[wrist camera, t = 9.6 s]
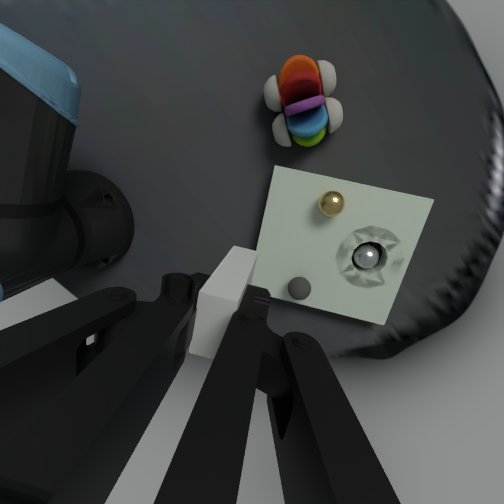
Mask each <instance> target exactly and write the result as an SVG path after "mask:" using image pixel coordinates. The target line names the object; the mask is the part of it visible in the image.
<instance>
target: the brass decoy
mask: <svg viewBox="0 0 504 504" xmlns="http://www.w3.org/2000/svg"><path fill="white" fill-rule="evenodd" d="M318 206H319V209H320V211H321V212H322V213H323V214H324V215H326V216H330V217H333V216H337V215H339V214H340V213H341V212H342V211H343V209H344V207H345V199H344V196H343V195H342V194H341V193H340V192H338V191H334V190H331V191H327V192H325V193H324V194H322V196H321V197H320V199H319V202H318Z"/></svg>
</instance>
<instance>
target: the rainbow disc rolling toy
mask: <svg viewBox="0 0 504 504" xmlns="http://www.w3.org/2000/svg"><path fill="white" fill-rule="evenodd" d="M335 86H336V73H335V69H334V66H333V65H332V64H331V63H329V62H327V61H324V60H319V61H317V63H316V64H315V62H314V61H313V60H312V59H311V58H309V57H307V56H304V55H295V56H293V57H291V58H290V59H288V60H287V61H286V62H285V64H284V65H283V66H282V68H281V70H280V73H279V78H278V81H277V78H276V75H273V76H272V77H270V78H269V79H268V80H267V82H266V83H265V85H264V89H263V91H264V97H265V101H266V105H267V107H268V108H269V109H271V110H273V111H275V112H282V111H283V108H282V106H284V107H285V109H284V112H285V114H286V115H285V114H284V113H281V114H279V115H278V116H277V117H276V118H275V120H274V122H273V124H272V130H273V134H274V138H275V141H276V142H277V143H278V144H280V145H281V146H285V147H290V146H291V140H290V134H289V131H290V132H291V135H292V139H293V140H294V141H295V142H296V143H298V144H299V145H302V146H306V147H309V146H313V145H316V144H317V143H319V142H320V141H321V140H322V138H323V137H324V135H325V132H326V130H327V128H328V131H329V133H332V132H334V131H336V130H337V129H338V128H339V126H340V125H341V123H342V121H343V111H342V106H341V104H340V103H339V102H338V101H337V100H336V99H334V98H328V96H329V95H330V94H331V93H332V92H333V90H334V89H335ZM288 129H289V130H288Z"/></svg>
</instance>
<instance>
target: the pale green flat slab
mask: <svg viewBox="0 0 504 504" xmlns="http://www.w3.org/2000/svg"><path fill="white" fill-rule="evenodd" d="M331 190H334V191H338V192H340V193H341V194H342V195H343V196H344V199H345V207H344V209H343V211H342V212H341V213H340V214H339V215H337V216H333V217H330V216H326V215H324V214H323V213H322V212H321V211H320V209H319V206H318V202H319V199H320V197H321V196H322V194H324V193H325V192H327V191H331ZM433 202H434V200H433V199H429V198H424V197H419V196H415V195H410V194H405V193H401V192H396V191H392V190H387V189H382V188H378V187H373V186H368V185H364V184H359V183H355V182H350V181H345V180H341V179H336V178H331V177H327V176H322V175H318V174H313V173H308V172H304V171H299V170H294V169H290V168H285V167H281V166H276V165H275V167H274V172H273V176H272V181H271V185H270V190H269V194H268V199H267V203H266V208H265V212H264V217H263V222H262V226H261V231H260V235H259V240H258V244H257V249H256V251H258V257H257V261H256V265H255V270H254V274H253V279H252V283H251V285H254V286H258V287H262V288H266V289H268V291H269V292H270V294H271V296H270V297H274V298H278V299H282V300H286V301H290V302H294V303H298V304H302V305H306V306H310V307H314V308H318V309H321V310H325V311H329V312H333V313H337V314H341V315H345V316H349V317H353V318H357V319H361V320H365V321H369V322H373V323H377V324H380V325H384V324H385V322H386V319H387V317H388V314H389V312H390V309H391V307H392V304H393V302H394V299H395V297H396V294H397V292H398V289H399V287H400V284H401V282H402V279H403V277H404V274H405V272H406V269H407V267H408V264H409V262H410V259H411V257H412V254H413V252H414V249H415V247H416V244H417V242H418V239H419V237H420V234H421V232H422V229H423V227H424V224H425V222H426V219H427V217H428V214H429V212H430V209H431V207H432V204H433ZM369 241H372V242H376V243H379V244H380V245H381V249H382V255H381V258H380V261H378V262H377V264H376V265H375V266H373V267H371V268H360V267H356V266H355V265H354V264H353V263H352V260H351V257H352V254H353V251H354V249H356V248H357V247H358V246H359V245H360V244H361V243H365V242H369ZM295 277H304V278H306V279H307V280H308V281H309V282H310V285H311V293H310V295H309V296H308V297H307V298H306V299H304V300H295V299H293V298H292V297H291V296H290V295H289V293H288V283H289V282H290V280H291V279H293V278H295Z"/></svg>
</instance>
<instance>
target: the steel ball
mask: <svg viewBox="0 0 504 504" xmlns="http://www.w3.org/2000/svg"><path fill="white" fill-rule="evenodd" d="M354 260H355V262H356V264H357V265H358V266H360V267H362V268H371V267H373V266H375V265H376V264H377V262H378V260H379V253H378V251H377V250H376V249H375V248H374V247H373V246H370V245H362V246H360V247H358V248H357V249H356V251H355V252H354Z"/></svg>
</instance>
